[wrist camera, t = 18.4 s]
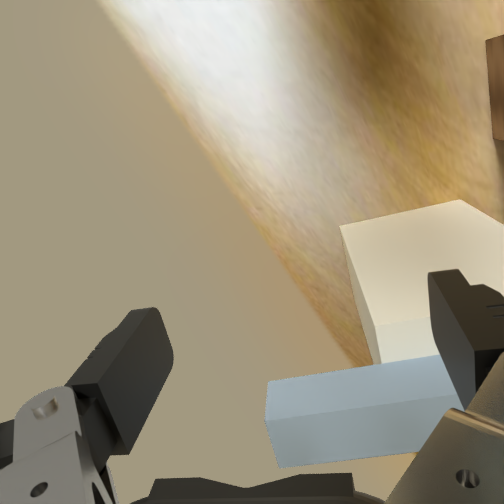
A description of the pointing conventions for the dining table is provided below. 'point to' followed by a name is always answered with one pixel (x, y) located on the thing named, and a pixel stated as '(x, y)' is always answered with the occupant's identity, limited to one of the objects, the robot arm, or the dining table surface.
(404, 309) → the pedestal
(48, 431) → the robot arm
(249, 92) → the dining table surface
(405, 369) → the bar
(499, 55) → the brown tall rectangular block
